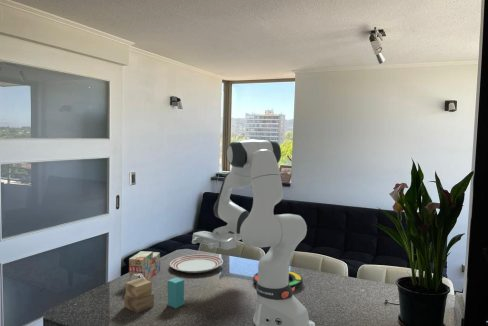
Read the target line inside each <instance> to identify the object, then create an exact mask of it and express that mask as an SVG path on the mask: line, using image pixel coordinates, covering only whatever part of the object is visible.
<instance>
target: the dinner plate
mask: <svg viewBox="0 0 488 326" xmlns="http://www.w3.org/2000/svg"><path fill="white" fill-rule="evenodd" d="M223 263H224V260H223V259H222V258H221V257H219V256H216V255H213V254H204V253H203V254H201V253H200V254H188V255H183V256H180V257H176V258H174V259H172V261H170V262H169V267H170V268H171V269H173V270H176V271H179V272H183V273H186V274H187V273H188V274H202V273H208V272H210V271H213V270H215V269H217V268H219V267H221V266H222V265H223Z"/></svg>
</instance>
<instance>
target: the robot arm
mask: <svg viewBox="0 0 488 326" xmlns="http://www.w3.org/2000/svg"><path fill="white" fill-rule="evenodd" d="M226 157H227V161H228V164H230V165H231V170H230V172H228V173H226V175H225V176H224V178H223V180H222V183H221V186H220V188H219V189H220V190H219V194H218V196H217V199H216V201H215V202H214V205H213V214H214V216H215V217H216V218H218V219H220V220H222V221H223V222H225V223H227V224H226V225H224V226H220V227H219V226H218V227H217V228H214V229H213V230H212V232H211V231H206V230H202V231H201V230H200V231H197V232H193V234H192V240H191V244H193V245H195V244H198V243H199V244H203V245H206V246H208V247H207V248H208V249H211V250H212V249H216V248H217V249H221V250H224V251H225V250H226V251H228V250H231V249H235V248H237V242H239V241H240V240H241V241H242V243H243V244H244V245H245V246H246V247H248V248H249V247H250V248H260V249H261V248H262V249H263V248H268V247H270V248H269V249H268V251H267V253H265V254H264V255H262V257H260V259H259V261H258V264H257V269H258V270H257V273H258V282H257V284H256V295H257V296H256V306H255V309H254V315H253V318H252V322H253V325H255V326H316V323H315V322H314V321H312V320H310V317H309V312H308V310H307V308H306V306H305V305H304V304H302V303H301V302H300V301H299V300H298V298H297V297H296V296H295V295H294V294H293V292H294V291H296V290H295V289H296V288H295V287H293V288H292V289H291V287H290V284H289V282H290V279H289V271H290V264H291V259H292V257H293V254H294V252H295V250H296V248H297V247H298V245H299V244H300V243H301V242H302V241H303V240H304V239H305V238H306V236H307V231H308V229H307V228H308V225H307V223H306V221H305V219H304V218H303V217H302V216H301V215H300V214H293V213H282V214H274V213H275V212H274V209H275V206H276V205H277V204H279V203H280V202H281V201H282V200H283V198H284V190H283V189H284V188H283V183H282V177H281V176H282V175H281V171H280V168H279V167H280V166H279V162H280V161H281V157H282V148H281V146H280V145H279V143H278V141H276V140H275V141H274V140H270V139H268V140H263V139H260V140H259V139H246V140H241V141H240V140H235V141H232V142H230V143H229V144H228V147H227V150H226ZM249 187H252V197H253V200H252V205H251V206H252V207H251V210H250V211H248V210H246V209H245V208H244V207H241V206H239V205H238V204H236V203H235V202H233V201H232V200H231V198H230V197H231V194H232V190H233V189H240V190H242V189H246V188H249ZM294 288H295V289H294Z"/></svg>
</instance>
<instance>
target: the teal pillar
mask: <svg viewBox="0 0 488 326" xmlns="http://www.w3.org/2000/svg"><path fill="white" fill-rule="evenodd" d="M183 305H185V279H183V278H180V277H173V278H171V279H168V280H167V306H168V307H172V308H174V309H177V308H179V307H181V306H183Z"/></svg>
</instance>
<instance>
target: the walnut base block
mask: <svg viewBox="0 0 488 326" xmlns="http://www.w3.org/2000/svg"><path fill="white" fill-rule="evenodd" d="M123 297H124V299H123V303H124V304H123V305H124V307H123V308H125V307H126V308H125V309H127V308H128V309H127V310H129V309H130V310H129V311H132V312H134V313H136V314H138V313H140V312H143V311H145V310H147V309H149V308H152V307H154V306H155V294H154V293H152V294H151V295H148V296H146V297H143V298H140V299H138V300H136V299H133V298H131V297H129V296H126V294H124V296H123Z"/></svg>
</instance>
